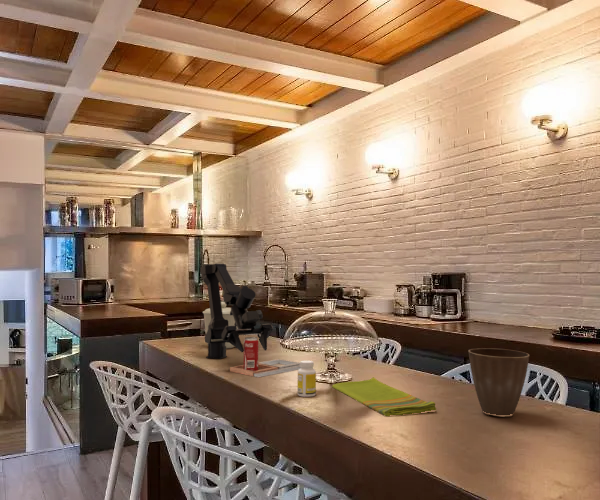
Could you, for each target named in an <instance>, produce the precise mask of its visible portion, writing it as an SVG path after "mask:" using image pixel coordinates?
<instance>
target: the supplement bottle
mask: <svg viewBox="0 0 600 500" xmlns="http://www.w3.org/2000/svg"><path fill="white" fill-rule="evenodd" d="M299 363H300V367H301V368H300V369H298V370H297V395H298V396H299V397H303V398H304V397H305V398H306V397H307V398H310V397H315V396H316V391H317V371H316V369H315V368H314V366H315V363H314V361H313V360H301V361H299Z"/></svg>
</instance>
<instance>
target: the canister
mask: <svg viewBox="0 0 600 500" xmlns="http://www.w3.org/2000/svg"><path fill="white" fill-rule="evenodd" d="M221 306H222V313H223V317H224V319H225V320H228V324H229V326H235V325H234V324H235V320H234V317H233V315H230V311H231V307H227V305H226V304H225V302H224V301H221ZM202 314H203V317H204V329H205V330H204V331H205V334H206V333H207V331H208V325H209V323H210V321H211V313H210V307H209V308H206V309H205V310H204V311H202ZM236 327H237V326H236ZM237 329H238V328H237ZM211 340H212V339H211ZM217 340H222V339H217ZM206 344H207V345H208V343H206ZM225 346H226V350H227V349H233V348H234V347H235V346H233V345H232V344H230V343H229V342H225ZM235 348H236V347H235Z"/></svg>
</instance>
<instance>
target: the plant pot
mask: <svg viewBox="0 0 600 500" xmlns="http://www.w3.org/2000/svg"><path fill="white" fill-rule="evenodd" d="M468 357H469V366H470V371H471V375H472V381H473V384H474V385H473V386H474V389H475V393H476V396H477V398H478V399H477V400H478V402H479V406H480V409H481V411H482V412H483V411H484V412H486V413H490V414H496V415H510V414H513V413H514V414H515V412H516V408H517V407H518V405H519V404H518V403H519V401H520V398H521V396H522V395H521V394H522V393H523V392H522V391H523V388H524V384H525V382H526V381H525V380H526V376H527V372H528V366H529V361H530V354H529V353H527V352H524V351H519V350H513V349H508V348H507V349H505V348H492V347H491V348H490V347H489V348H488V347H487V348H485V347H484V348H483V347H481V348H471V349H468ZM514 414H513V415H514Z"/></svg>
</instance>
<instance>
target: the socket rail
mask: <svg viewBox="0 0 600 500" xmlns="http://www.w3.org/2000/svg"><path fill="white" fill-rule="evenodd" d="M243 365H244V364H242V365H241V364H240V365H235V366H230V367H229V372H230V373H236V374H242V375H245V376H250V377H255V378H260V377H266V376H271V375H272V376H273V375H276V374H283V373H287V372H292V371H296V370H297V371H298V370H299V369H300V368H301V367H300V361H299V362H298V361H294V360H293V361H292V360H287V359H280V358H277V359H272V360H264V361H258V370H256V371H251V370H246V369H243Z"/></svg>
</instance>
